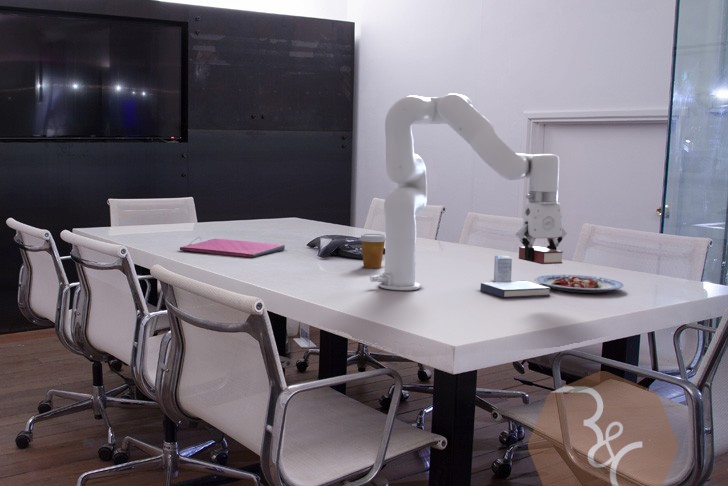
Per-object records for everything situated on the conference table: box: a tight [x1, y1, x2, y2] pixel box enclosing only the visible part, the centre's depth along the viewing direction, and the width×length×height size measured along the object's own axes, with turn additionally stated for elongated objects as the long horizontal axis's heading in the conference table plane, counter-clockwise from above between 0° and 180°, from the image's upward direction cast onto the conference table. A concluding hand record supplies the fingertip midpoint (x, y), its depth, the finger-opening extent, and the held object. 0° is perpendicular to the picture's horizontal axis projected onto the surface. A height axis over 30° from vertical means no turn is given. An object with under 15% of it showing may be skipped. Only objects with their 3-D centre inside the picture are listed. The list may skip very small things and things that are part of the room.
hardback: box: [480, 280, 551, 299], centre depth 234 cm, size 16×12×2 cm
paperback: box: [518, 245, 564, 265], centre depth 219 cm, size 6×11×4 cm, turn 14°
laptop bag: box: [179, 236, 286, 259], centre depth 327 cm, size 40×4×27 cm
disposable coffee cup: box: [359, 233, 386, 269], centre depth 283 cm, size 10×10×12 cm
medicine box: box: [493, 254, 513, 282], centre depth 252 cm, size 8×4×9 cm, turn 168°
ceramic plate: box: [534, 274, 625, 294], centre depth 243 cm, size 26×26×3 cm
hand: (540, 259), depth 219 cm, fingers closed on paperback, 6 cm apart
